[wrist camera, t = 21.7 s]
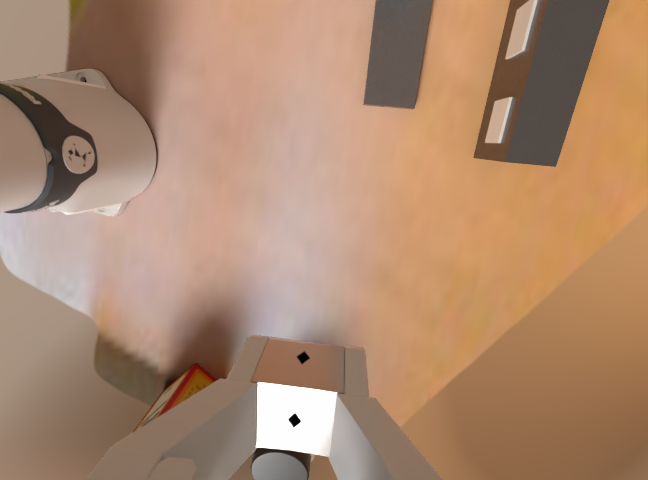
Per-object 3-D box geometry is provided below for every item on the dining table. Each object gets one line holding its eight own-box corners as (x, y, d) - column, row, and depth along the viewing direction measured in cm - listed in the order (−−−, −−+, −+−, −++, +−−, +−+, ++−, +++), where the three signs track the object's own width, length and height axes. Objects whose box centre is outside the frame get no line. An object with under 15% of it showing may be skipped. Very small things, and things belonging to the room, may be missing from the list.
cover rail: (363, 104, 37) (364, 104, 36) (380, -36, 33) (381, -41, 32) (412, 109, 37) (414, 108, 36) (436, -32, 32) (438, -38, 31)
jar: (288, 373, 51) (270, 440, 39) (327, 397, 52) (322, 469, 40) (261, 405, 53) (237, 477, 42) (299, 427, 54) (286, 503, 43)
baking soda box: (191, 412, 55) (131, 515, 40) (163, 390, 54) (91, 488, 39) (224, 386, 53) (174, 485, 37) (195, 362, 51) (132, 455, 36)
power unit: (471, 157, 38) (501, 161, 30) (511, -16, 32) (561, -64, 25) (514, 161, 38) (555, 166, 30) (562, -13, 32) (628, -60, 25)
